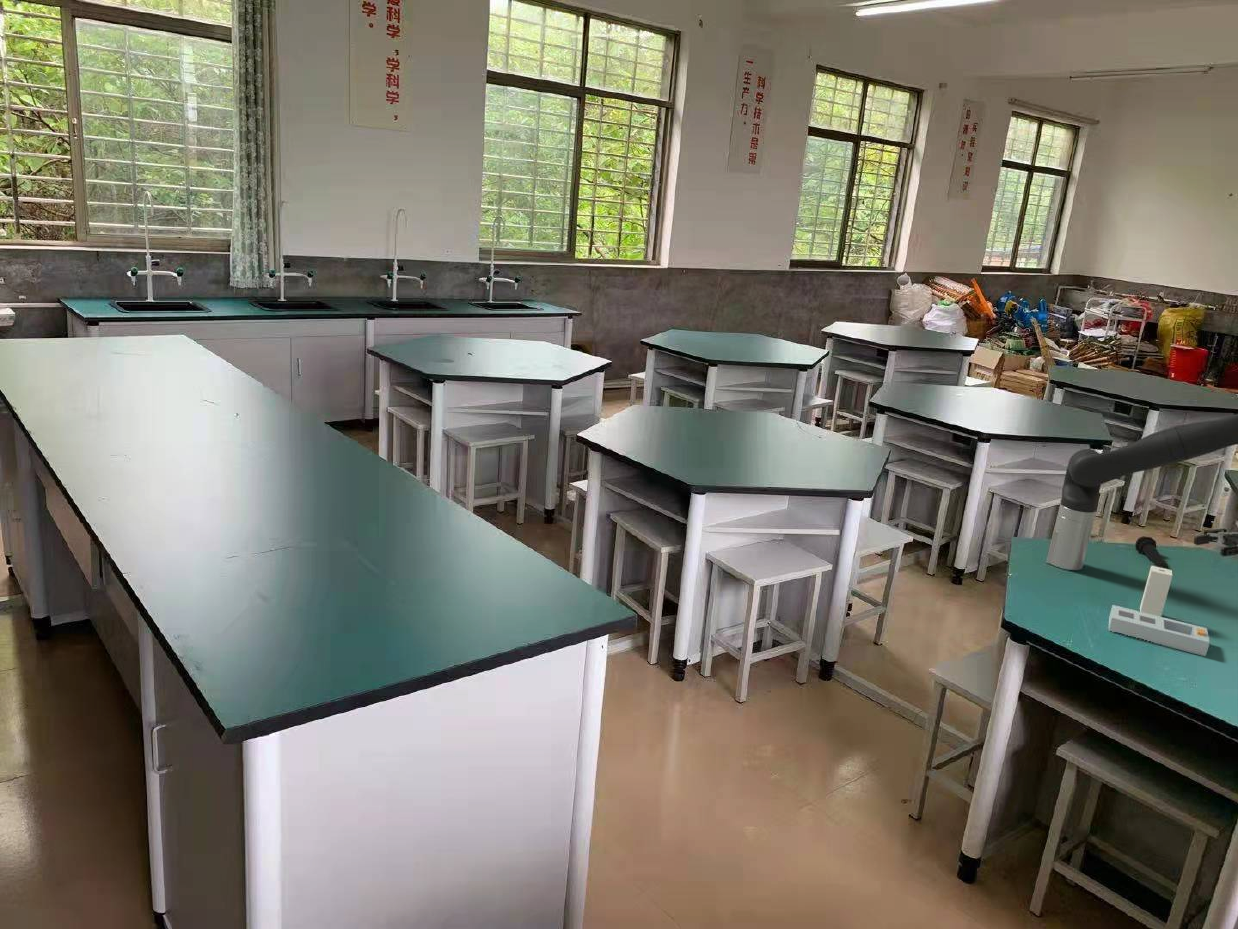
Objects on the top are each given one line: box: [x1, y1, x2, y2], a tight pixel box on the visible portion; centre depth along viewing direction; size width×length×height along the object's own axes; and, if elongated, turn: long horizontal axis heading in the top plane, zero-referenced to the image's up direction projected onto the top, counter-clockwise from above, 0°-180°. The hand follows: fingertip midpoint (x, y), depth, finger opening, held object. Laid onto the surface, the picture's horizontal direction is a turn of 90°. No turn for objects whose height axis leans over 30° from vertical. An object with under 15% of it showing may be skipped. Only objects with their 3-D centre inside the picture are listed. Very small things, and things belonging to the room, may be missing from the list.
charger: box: [1139, 565, 1173, 617], centre depth 227 cm, size 4×4×12 cm
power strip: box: [1108, 604, 1211, 657], centre depth 216 cm, size 20×9×4 cm, turn 61°
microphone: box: [1134, 535, 1169, 569], centre depth 267 cm, size 6×6×20 cm
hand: (1208, 546), depth 226 cm, fingers open, 8 cm apart
